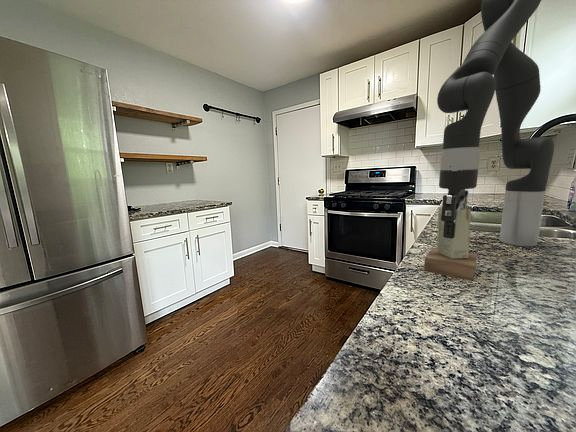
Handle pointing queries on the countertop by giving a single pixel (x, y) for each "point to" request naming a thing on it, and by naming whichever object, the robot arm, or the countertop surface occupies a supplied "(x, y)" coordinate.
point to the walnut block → (450, 265)
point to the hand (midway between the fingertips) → (453, 234)
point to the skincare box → (460, 242)
